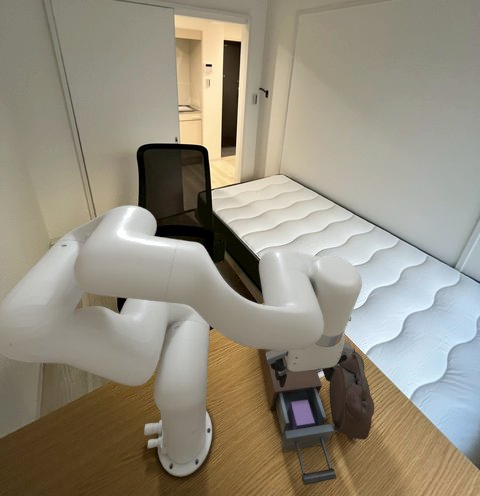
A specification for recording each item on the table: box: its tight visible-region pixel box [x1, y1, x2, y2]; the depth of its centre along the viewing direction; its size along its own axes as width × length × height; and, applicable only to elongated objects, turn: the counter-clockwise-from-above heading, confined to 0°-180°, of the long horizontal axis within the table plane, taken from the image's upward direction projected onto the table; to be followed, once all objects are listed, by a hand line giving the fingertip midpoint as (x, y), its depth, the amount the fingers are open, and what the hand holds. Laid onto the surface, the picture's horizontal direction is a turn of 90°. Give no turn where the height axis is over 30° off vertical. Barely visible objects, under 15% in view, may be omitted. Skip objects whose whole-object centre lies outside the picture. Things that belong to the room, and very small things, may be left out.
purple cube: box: [288, 400, 315, 430], centre depth 60 cm, size 4×4×4 cm
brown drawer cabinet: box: [258, 349, 323, 410], centre depth 70 cm, size 15×13×9 cm
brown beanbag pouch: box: [328, 347, 376, 441], centre depth 60 cm, size 15×7×20 cm, turn 168°
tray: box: [275, 388, 337, 486], centre depth 59 cm, size 20×11×7 cm, turn 8°
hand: (302, 375), depth 49 cm, fingers open, 9 cm apart
